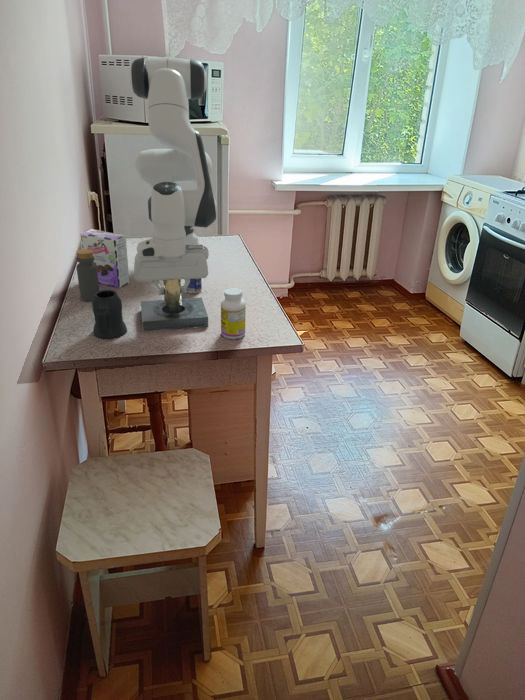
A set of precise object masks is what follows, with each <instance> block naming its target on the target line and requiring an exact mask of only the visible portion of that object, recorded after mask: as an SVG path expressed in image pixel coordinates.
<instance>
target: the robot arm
mask: <svg viewBox="0 0 525 700" xmlns="http://www.w3.org/2000/svg"><path fill="white" fill-rule="evenodd" d="M128 75H129V76H128V77H129V79H128V80H129V84H130V87H131V89H132V90H133V91H132V92H133V94H134V95H135V96H137V97H138V98H141V99H145V100H147V121H148V128H149V131H150V133H151V135H152V136H153V137H154V139H155V140H156V141H157V142H159V143H160V144H162V146H163V145H164V146H165V147H167V148H151V149H146V150H141V151H140V152H139V153H138V155H137V156H136V160H135V171H136V173H137V176H138V177H139V178H140V179H141V180H142V181H143V182H145V183H146V184H148V185H149V186H150V187H151V196H150V197H149V198H148V200H147V210H148V211H147V212H148V220H149V221H151V223H152V224H153V231H152V237H151V238H149V239H146V240H142V241H140V242H138V243H137V245H136V252H137V253H136V254H135V257H134V263H133V264H134V266H133V267H134V268H133V272H134V273H133V274H134V279H135V281H136V282H141V283H142V282H153V284H154V286H155V287H156V288H157V290H158V295H159V296H164V286H161V285H160V281H163V280H170V279H181V280H184V284H183V285H181V295H182V294H187V293H188V292H186V288H187V287H188V285H189V283H190V279H196V278H201V279H206V278H207V277H208V275H209V268H208V267H209V266H208V261H207V260H208V259H209V255H210V254H209V252H210V251H209V249H208V247H207V246H205V245H203V244H199V237H198V236H197V235H196V234H195V232H194V231H195V227H197V228H208V227H210V226H211V225H212V224H213V223H214V222H215V221H216V220H217V216H218V204H217V200H216V197H215V194H214V191H213V188H212V183H211V178H210V177H211V174H212V169H213V164H212V160H211V156H209V154H208V153H207V152H206V151H205V147H204V142H203V139H202V135H201V134H200V132H199V131H198V130H196V129H195V128H194V127H193V125H192V123H191V121H190V108H189V106H190V104H189V100H191V101H195V100H198V99H201V98H202V97H204V95H205V93H206V90H207V86H208V76H207V75H208V74H207V72H206V69H205V66H204V64H203V63H202V62H201V61H200V60H196V59H192V58H190V59H187V58H186V59H185V58H180V57H173V56H172V57H171V56H169V57H153V58H146V57H140V58H136V59H134V60H133V62H131V67H130V69H129V74H128ZM178 183H180V184H181V183H196V188H195V189H192V190H191V189H182V187H181V185H180V184H178Z"/></svg>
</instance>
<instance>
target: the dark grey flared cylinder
mask: <svg viewBox="0 0 525 700" xmlns="http://www.w3.org/2000/svg"><path fill="white" fill-rule="evenodd" d="M91 308H92V313H93V318H94V325H93V331H92V335H93V334H94V335H93V336H94V337H95V336H96V337H95V338H97V337H98V338H97V339H99V338H101V340H114V338H116V339H119V338H121V336H122V337H124V336H125V335H126V334H128V327H127V325H126V323H125V321H124V319H123V318H124V317H123V306H122V299H121V298H120V296H118V293H117V292H116V290H114V289H113V290H112V289H102V290H100V291H98V292H96V293H95V296H94V299H93V301H91Z"/></svg>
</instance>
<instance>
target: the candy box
mask: <svg viewBox="0 0 525 700" xmlns="http://www.w3.org/2000/svg"><path fill="white" fill-rule="evenodd" d="M126 237H127V236H126V234H119V233H113V232H108V231H104V230H99V229H94V228H91V229H88V230H85V231H81V232H80V239H81V246H82V249H90V250H92V251H93V256H94V261H93V263H95V264H96V266H97V273H98V281H99V285H104V286H109V287H113V288H117V289H120V288H123V287H125V286H127V285H128V284H130V283H131V282H130V271H129V262H128V261H129V260H128V249H127V248H128V247H127V238H126Z"/></svg>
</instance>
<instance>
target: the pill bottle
mask: <svg viewBox="0 0 525 700" xmlns="http://www.w3.org/2000/svg"><path fill="white" fill-rule="evenodd" d="M202 284H203V283H202V278H196V279H190V283H189V285H188V287H187V288H186V292H187V293H188V294H199V293H200V292H202V288H203V287H202Z"/></svg>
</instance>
